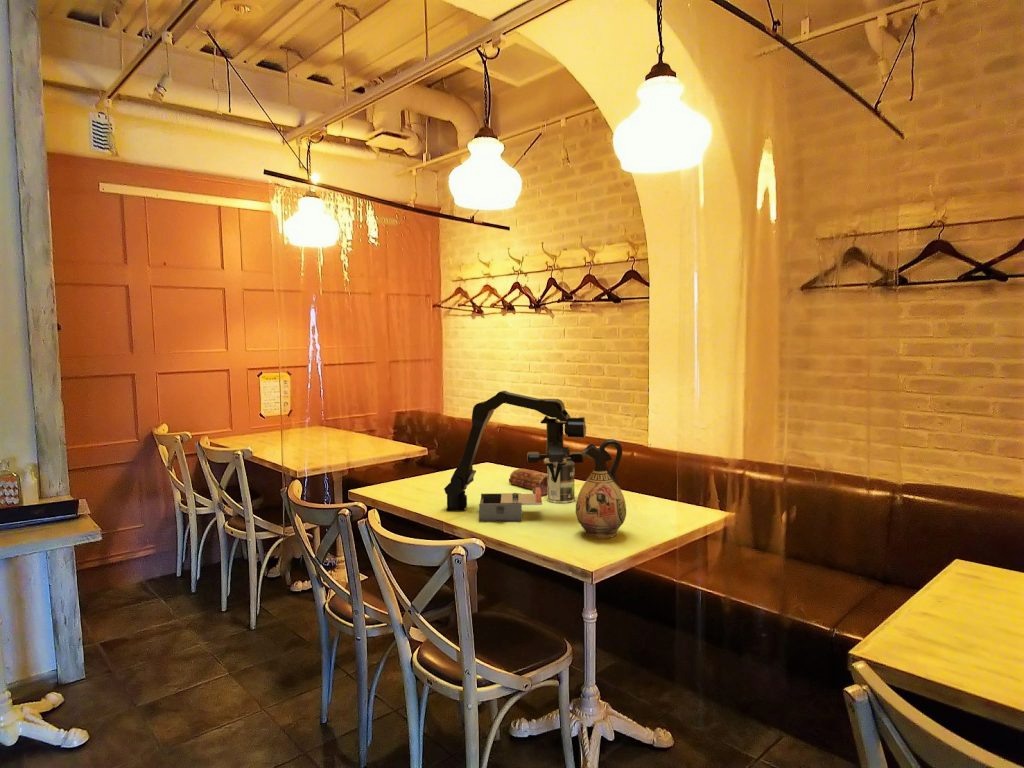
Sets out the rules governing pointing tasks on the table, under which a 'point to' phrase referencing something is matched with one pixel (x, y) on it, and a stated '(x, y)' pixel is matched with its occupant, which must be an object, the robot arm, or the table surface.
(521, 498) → the lid
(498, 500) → the grey box
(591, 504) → the ceramic jug
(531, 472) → the cured meat
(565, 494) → the coffee can
